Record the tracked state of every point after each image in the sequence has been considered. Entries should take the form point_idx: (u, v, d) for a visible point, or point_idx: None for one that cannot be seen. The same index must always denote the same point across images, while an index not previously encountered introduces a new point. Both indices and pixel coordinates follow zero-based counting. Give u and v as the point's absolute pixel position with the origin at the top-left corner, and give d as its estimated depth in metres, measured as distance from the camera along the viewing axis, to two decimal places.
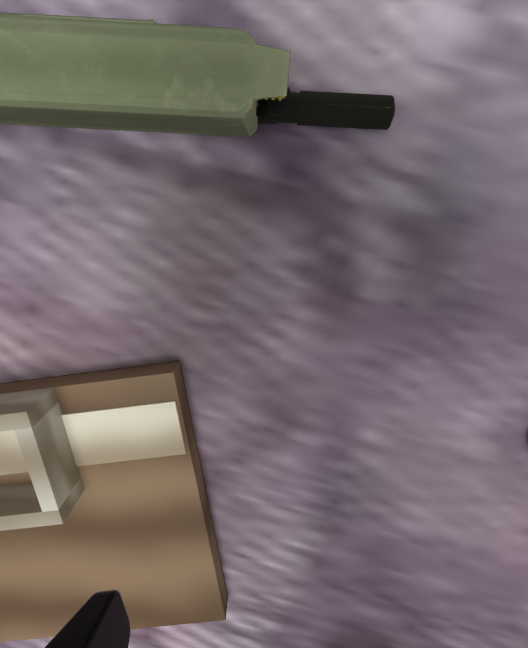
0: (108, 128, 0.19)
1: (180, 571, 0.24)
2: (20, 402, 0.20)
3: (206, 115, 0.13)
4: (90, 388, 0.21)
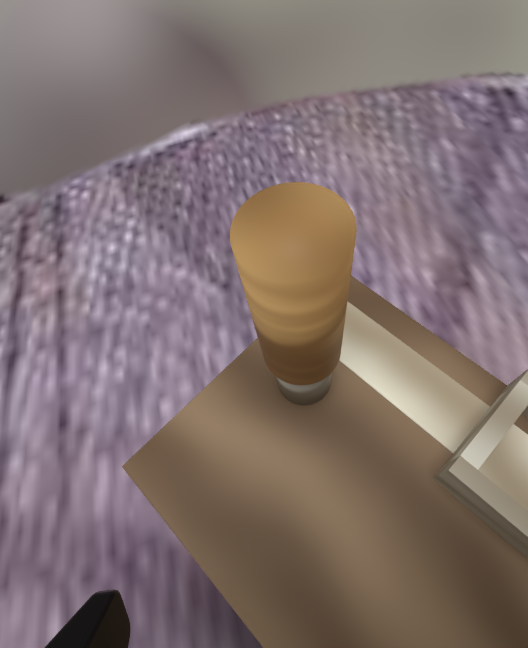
0: None
1: None
2: None
3: None
4: None
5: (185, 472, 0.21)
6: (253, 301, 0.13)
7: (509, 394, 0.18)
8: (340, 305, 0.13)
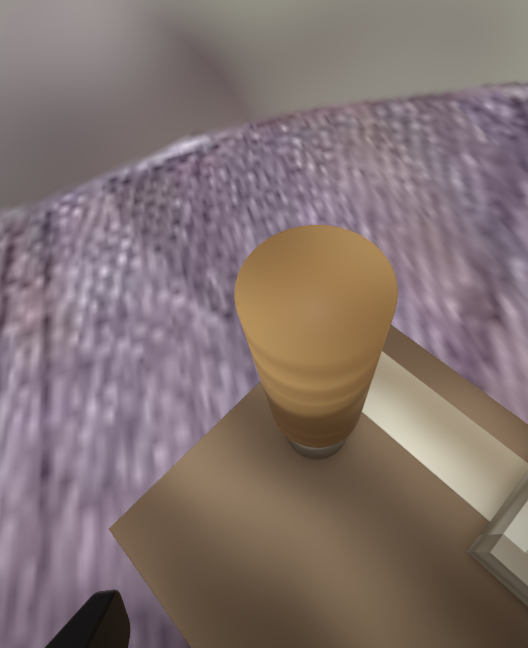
0: None
1: None
2: None
3: None
4: None
5: (180, 537, 0.18)
6: (263, 371, 0.10)
7: None
8: (371, 374, 0.10)
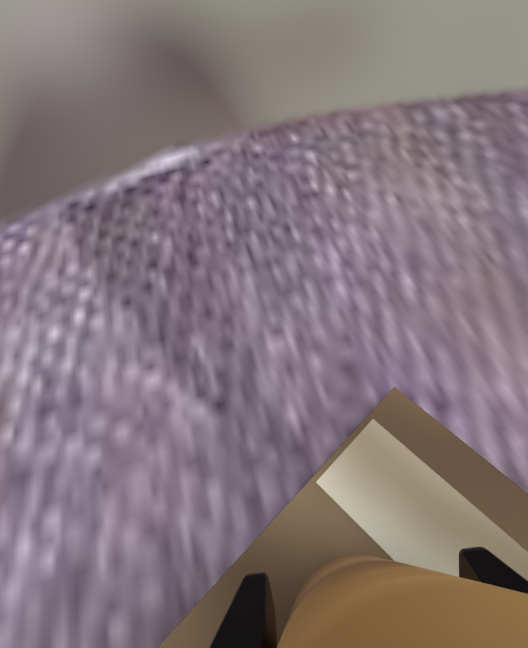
0: None
1: None
2: None
3: None
4: None
5: None
6: None
7: None
8: None
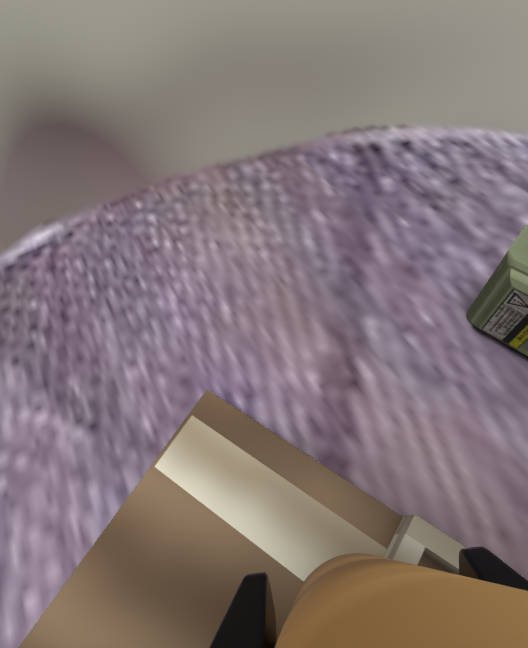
0: None
1: None
2: None
3: None
4: None
5: None
6: None
7: (395, 555, 0.16)
8: None
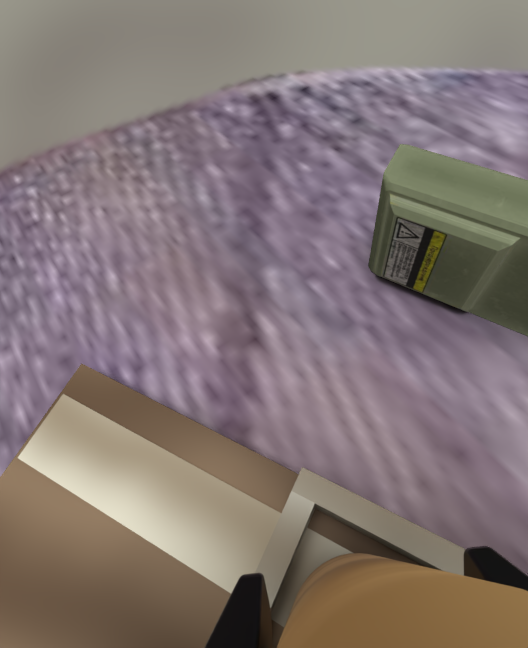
0: None
1: None
2: None
3: None
4: None
5: None
6: None
7: (280, 517, 0.13)
8: None
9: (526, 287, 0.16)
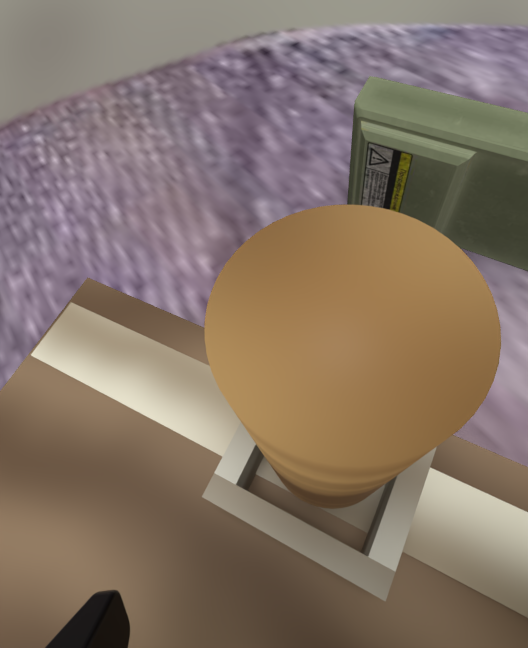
0: None
1: None
2: None
3: None
4: (477, 454, 0.15)
5: None
6: (256, 443, 0.06)
7: None
8: None
9: (486, 204, 0.18)
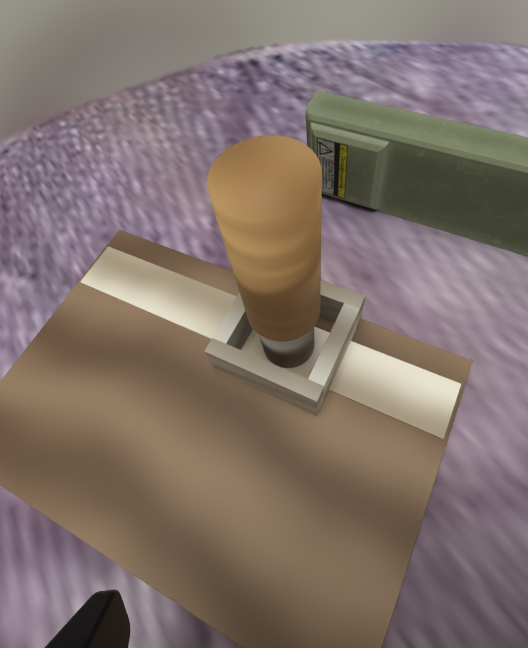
0: (493, 242, 0.26)
1: (347, 586, 0.18)
2: None
3: None
4: (390, 335, 0.23)
5: (6, 434, 0.23)
6: (230, 247, 0.14)
7: None
8: (311, 252, 0.14)
9: (403, 180, 0.25)
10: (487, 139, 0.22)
